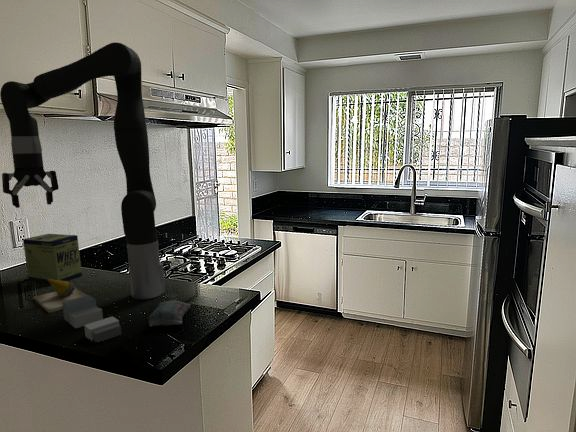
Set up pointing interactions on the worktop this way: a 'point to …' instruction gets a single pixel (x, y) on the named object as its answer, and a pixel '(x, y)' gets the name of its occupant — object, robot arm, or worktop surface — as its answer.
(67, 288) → the yellow tapered piece
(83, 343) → the worktop surface
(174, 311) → the packaged food
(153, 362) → the worktop surface
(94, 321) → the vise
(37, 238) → the protein box
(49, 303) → the birch board
